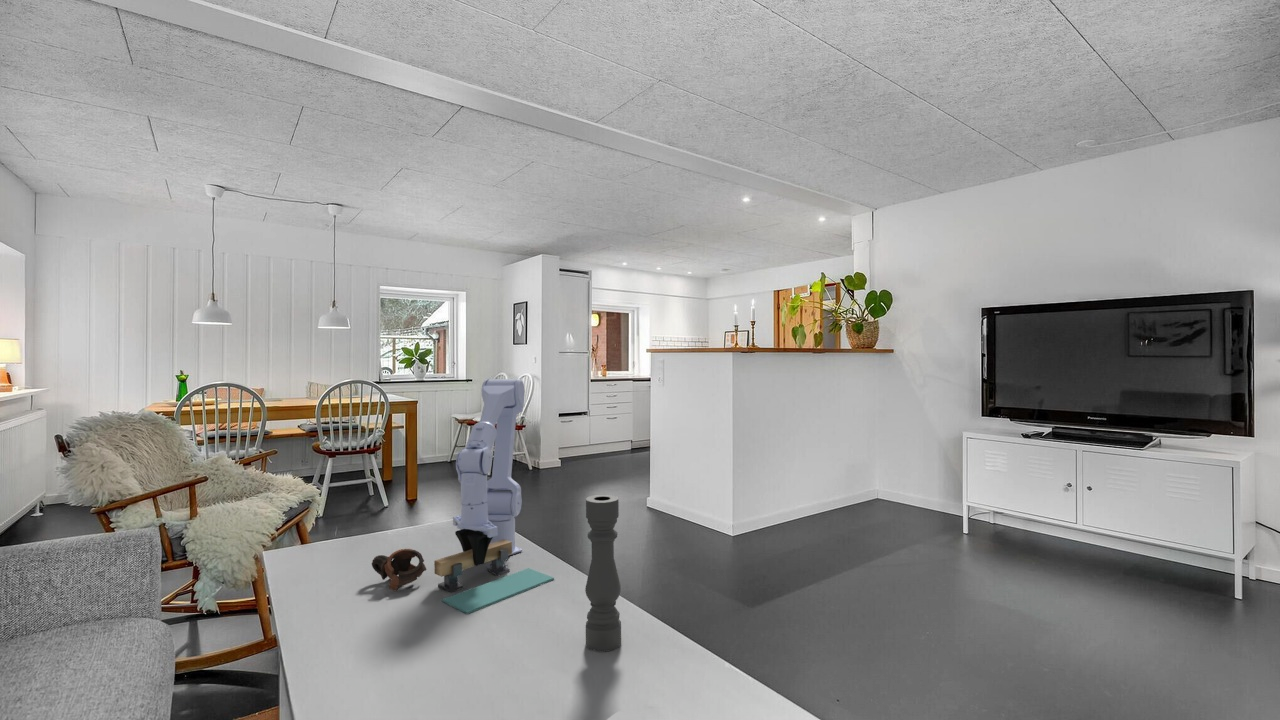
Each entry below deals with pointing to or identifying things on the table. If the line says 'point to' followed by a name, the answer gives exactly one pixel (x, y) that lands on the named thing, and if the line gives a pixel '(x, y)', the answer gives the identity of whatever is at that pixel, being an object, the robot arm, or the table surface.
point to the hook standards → (496, 568)
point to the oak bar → (469, 558)
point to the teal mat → (497, 590)
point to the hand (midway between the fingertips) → (475, 562)
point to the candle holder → (602, 575)
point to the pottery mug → (399, 567)
